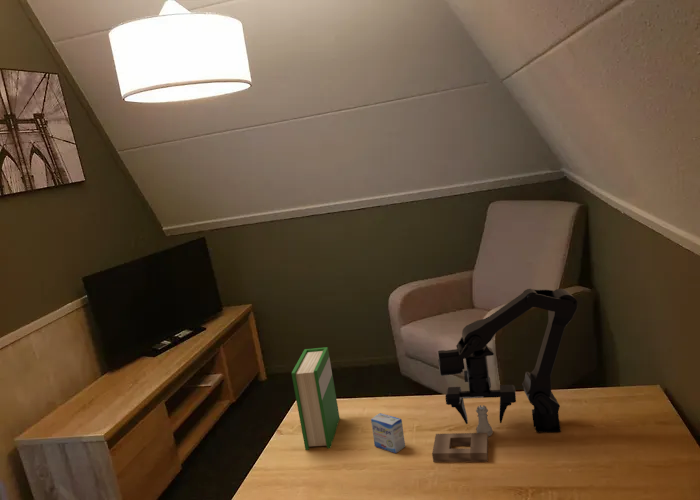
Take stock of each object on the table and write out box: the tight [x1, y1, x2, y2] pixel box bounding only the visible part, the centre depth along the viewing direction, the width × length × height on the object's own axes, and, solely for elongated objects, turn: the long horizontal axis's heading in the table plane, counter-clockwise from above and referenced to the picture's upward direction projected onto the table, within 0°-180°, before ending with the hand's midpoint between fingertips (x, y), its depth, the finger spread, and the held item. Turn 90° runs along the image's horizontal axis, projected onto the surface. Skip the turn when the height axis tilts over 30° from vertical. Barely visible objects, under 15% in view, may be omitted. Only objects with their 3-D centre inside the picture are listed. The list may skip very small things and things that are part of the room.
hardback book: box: [291, 347, 341, 451], centre depth 182 cm, size 18×7×24 cm, turn 172°
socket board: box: [431, 432, 489, 463], centre depth 163 cm, size 14×10×2 cm
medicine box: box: [370, 412, 406, 454], centre depth 171 cm, size 8×4×9 cm, turn 47°
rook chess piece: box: [475, 405, 493, 438], centre depth 170 cm, size 4×4×8 cm
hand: (483, 422), depth 170 cm, fingers open, 9 cm apart
